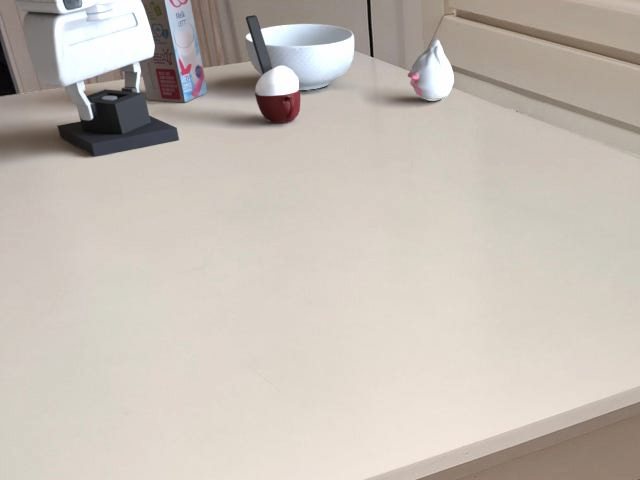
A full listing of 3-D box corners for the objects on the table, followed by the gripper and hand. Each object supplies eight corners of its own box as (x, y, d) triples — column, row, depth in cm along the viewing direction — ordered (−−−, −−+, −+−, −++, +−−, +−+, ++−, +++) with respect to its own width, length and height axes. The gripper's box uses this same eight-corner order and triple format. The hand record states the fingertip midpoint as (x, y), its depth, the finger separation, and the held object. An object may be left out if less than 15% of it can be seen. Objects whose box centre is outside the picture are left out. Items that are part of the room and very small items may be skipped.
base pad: (94, 156, 118) (83, 113, 115) (60, 137, 125) (48, 96, 121) (179, 139, 124) (170, 98, 120) (142, 122, 130) (132, 82, 127)
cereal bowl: (235, 95, 142) (226, 41, 137) (276, 71, 154) (269, 22, 149) (337, 100, 139) (332, 46, 134) (371, 76, 151) (367, 25, 146)
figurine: (402, 99, 139) (398, 37, 134) (443, 94, 142) (441, 33, 136) (419, 108, 135) (416, 45, 130) (461, 103, 137) (460, 41, 132)
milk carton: (207, 92, 143) (174, -85, 128) (185, 102, 139) (148, -80, 124) (171, 90, 145) (134, -86, 130) (147, 99, 140) (106, -81, 125)
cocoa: (305, 126, 128) (292, 25, 120) (260, 129, 127) (244, 28, 119) (300, 110, 135) (288, 13, 127) (258, 112, 134) (243, 15, 126)
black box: (122, 134, 120) (114, 103, 118) (83, 130, 122) (74, 100, 119) (151, 122, 125) (144, 92, 122) (112, 118, 126) (105, 89, 124)
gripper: (111, -28, 120) (138, 91, 130) (3, -4, 106) (42, 127, 116) (151, -26, 119) (176, 94, 128) (46, -2, 105) (83, 131, 114)
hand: (112, 110), depth 122 cm, fingers open, 8 cm apart
